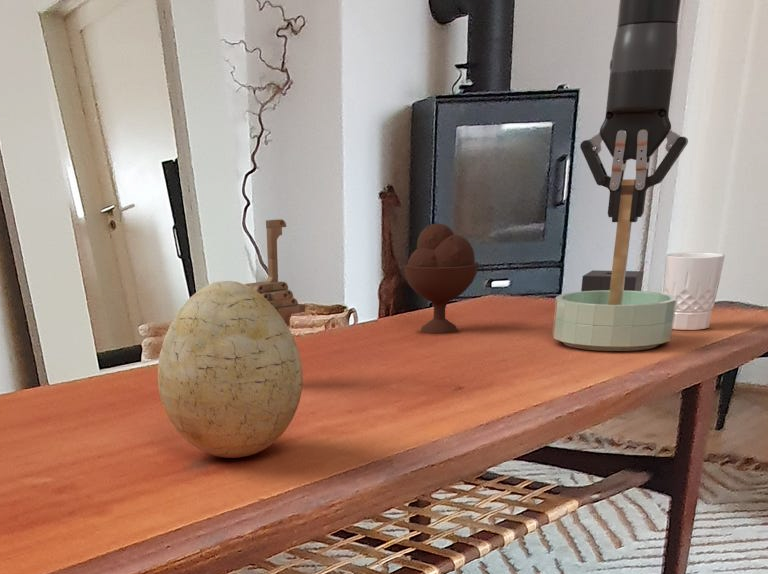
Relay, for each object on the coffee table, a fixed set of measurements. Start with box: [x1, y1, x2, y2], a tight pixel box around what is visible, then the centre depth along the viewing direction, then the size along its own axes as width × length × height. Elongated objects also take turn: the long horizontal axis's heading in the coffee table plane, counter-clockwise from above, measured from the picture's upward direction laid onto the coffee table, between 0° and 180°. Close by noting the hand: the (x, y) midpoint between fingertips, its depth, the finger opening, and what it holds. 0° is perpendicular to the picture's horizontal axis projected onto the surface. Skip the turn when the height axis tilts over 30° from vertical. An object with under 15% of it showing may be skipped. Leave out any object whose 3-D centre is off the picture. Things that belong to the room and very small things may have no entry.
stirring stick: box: [608, 178, 636, 305], centre depth 129 cm, size 2×2×18 cm
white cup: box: [662, 251, 726, 331], centre depth 141 cm, size 8×8×10 cm
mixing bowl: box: [551, 290, 678, 352], centre depth 132 cm, size 16×16×6 cm
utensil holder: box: [580, 270, 644, 291], centre depth 158 cm, size 8×8×6 cm
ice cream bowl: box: [403, 222, 480, 334], centre depth 144 cm, size 11×11×15 cm
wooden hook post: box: [244, 218, 306, 327], centre depth 109 cm, size 17×7×18 cm, turn 132°
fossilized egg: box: [156, 280, 304, 459], centre depth 85 cm, size 13×13×15 cm
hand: (624, 221), depth 127 cm, fingers closed on stirring stick, 1 cm apart
